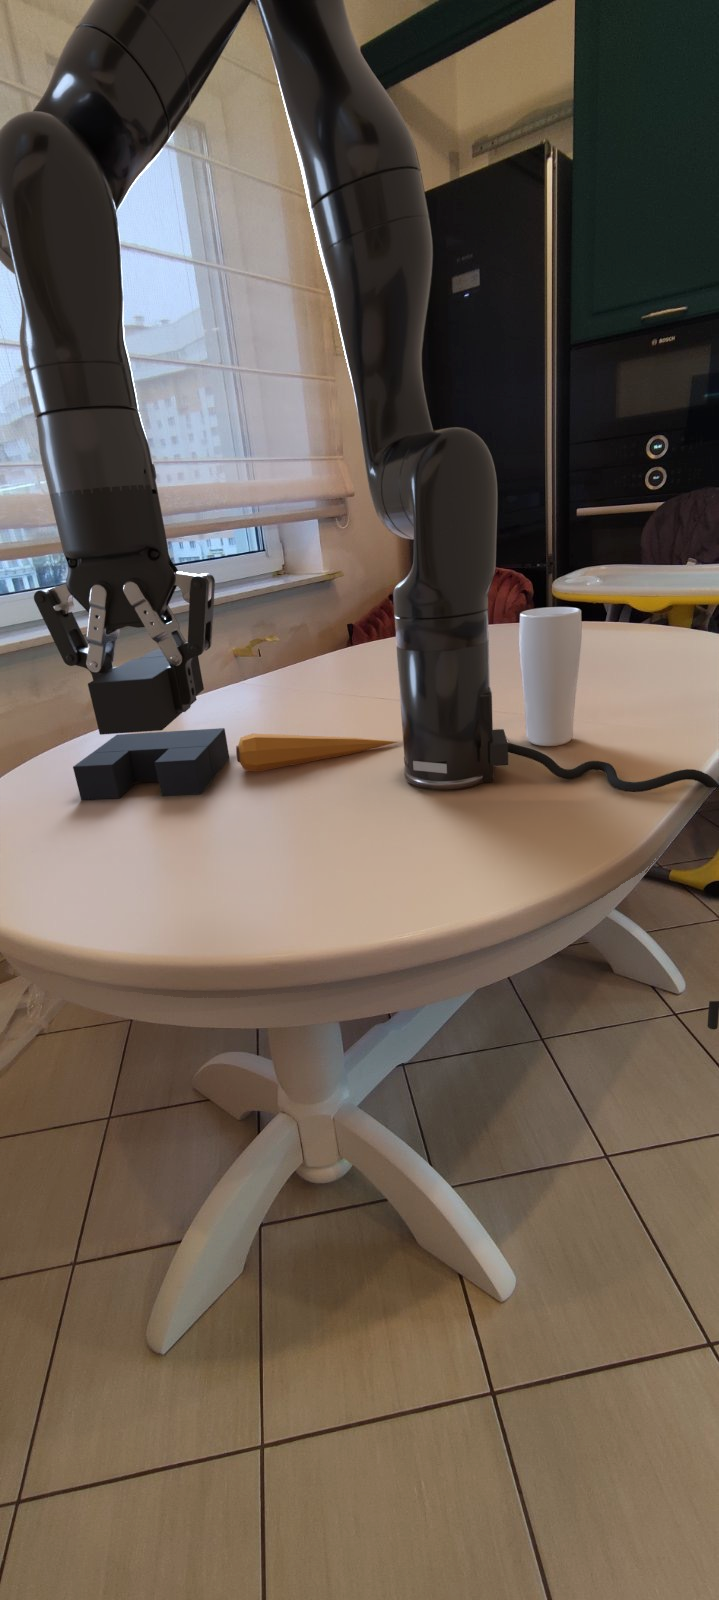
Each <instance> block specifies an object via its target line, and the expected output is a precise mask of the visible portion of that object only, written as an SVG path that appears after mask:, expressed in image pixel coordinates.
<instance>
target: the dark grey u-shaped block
mask: <svg viewBox="0 0 719 1600" xmlns="http://www.w3.org/2000/svg"><path fill="white" fill-rule="evenodd" d="M229 760H230V753H229V746H228V741H227V735H226V728H225V727H222V728H221V727H220V728H204V729H201V728H200V729H188V730H187V729H186V730H170V731H151V732H135V733H119V734H116V735H114V736H113V737H111V738H110V739H109V740H107V741H106V742H104V743H103V744H102V745H100V746H99V747H98V748H97V749H95V750H94V751H93V752H91V753H90V754H88V755H86V757H84V758H83V759H82V760H80V761H79V762H76V764H75V765H73V766H72V769H73V774H74V777H75V780H76V785H77V789H78V792H79V793H78V794H79V797H80V800H81V801H88V800H89V801H90V800H91V801H92V800H108V799H109V800H110V799H120V798H121V797H123V796H124V795H125V794H126V793H127V792H128V791H129V790H130V789H131V788H132V787H133V786H134V785H136V783H139V784H140V783H157V782H158V788H159V791H160V796H161V797H170V796H189V795H190V796H191V795H193V796H194V795H202V794H203V793H204V791H205V790H206V789H207V787H208V786H209V785H210V784H211V782H212V781H213V780H214V778H216V776H217V775H218V773H220V771H221V770H222V769H223V767H224V766H225V765H226V764H227V763H228V761H229Z"/></svg>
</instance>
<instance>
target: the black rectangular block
mask: <svg viewBox="0 0 719 1600" xmlns="http://www.w3.org/2000/svg"><path fill="white" fill-rule="evenodd" d="M169 666H170V664H169V663H168V661H167V659H166V657H165V656H164V654H163V652H162V650H161V649H160V648H157V649H156V648H155V649H153V650H151V651H150V652H148V653H146V654H144V655H142V656H140V657H138V658H132V659H130V660H128V661H126V662H124V663H123V664H121V665H119V666H116V667H117V668H115V669H113V670H112V671H110V672H108V673H106V674H104V675H103V676H101V677H99V678H97V679H95V680H93V679H92V681H90V682H88V683H87V687H88V692H89V697H90V700H91V704H92V708H93V712H94V716H95V721H96V726H97V729H98V733H99V735H103V736H104V735H115V734H116V735H118V734H133V733H147V732H162V731H163V730H164V729H166V728H167V727H168V726H169V725H170V724H171V723H173V721H174V720H176V719H177V718H178V717H179V716H180V715H181V714H182V713H183V712H178V713H177V712H176V710H175V707H174V701H173V696H172V691H171V686H170V681H169V676H168V671H167V669H166V668H167V667H169ZM191 669H192V674H193V680H194V685H195V691H196V697H195V700H194V701H193V702H192V703H191V706H192V705H193V704H194V703H195V702H196V701H197V696H198V695H200V693H202V692H203V691H204V690H205V687H204V681H203V677H202V670H201V664H200V659H199V656H195V657H193V658H192V660H191Z"/></svg>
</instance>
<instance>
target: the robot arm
mask: <svg viewBox="0 0 719 1600" xmlns="http://www.w3.org/2000/svg"><path fill="white" fill-rule="evenodd" d="M252 1H253V0H93V1H92V2H91V3H90V5H89V7H88V8H87V10H86V11H85V13H84V14H83V16H82V17H81V19H80V20H79V22H78V23H77V24H76V27H75V28H74V30H73V31H72V32H71V34H70V36H69V37H68V39H67V41H66V42H65V44H64V47H63V48H62V51H61V53H60V55H59V57H58V59H57V62H56V65H55V67H54V70H53V71H52V72H53V73H52V75H51V78H50V81H49V83H48V85H47V87H46V90H45V91H44V93H43V95H42V97H41V98H40V100H39V101H38V102H37V104H36V105H35V107H34V108H33V109H32V111H26V112H22V113H19V114H17V115H15V116H13V117H12V118H10V119H9V120H8V121H7V122H6V123H5V124H4V125H2V127H1V128H0V263H2V265H3V266H4V267H5V268H6V269H7V270H8V271H10V273H12V274H14V276H15V281H16V286H17V290H18V291H17V292H18V295H19V300H20V307H21V320H20V321H21V322H20V329H19V348H20V356H21V360H22V365H23V370H24V374H25V380H26V385H27V388H28V393H29V398H30V401H31V405H32V410H33V414H34V418H35V423H36V429H37V436H38V437H37V439H38V448H39V455H40V460H41V464H42V468H43V473H44V477H45V481H46V485H47V490H48V494H49V498H50V503H51V507H52V510H53V515H54V518H55V523H56V528H57V532H58V537H59V541H60V546H61V549H62V553H63V556H64V558H65V560H66V562H67V574H66V575H67V576H66V578H65V583H63V584H60V585H58V586H53V587H48V588H45V589H40V590H37V591H35V593H34V594H33V601H34V603H35V605H36V608H37V609H38V611H39V613H40V615H41V617H42V619H43V622H44V623H45V625H46V628H47V630H48V632H49V635H50V636H51V638H52V640H53V642H54V644H55V646H56V648H57V651H58V653H59V654H60V657H61V659H62V660H63V662H64V664H66V665H67V666H69V667H74V666H77V667H81V668H84V669H85V670H87V671H89V673H90V674H91V677H92V681H93V680H95V679H97V678H99V677H101V676H103V675H104V674H106V673H108V672H110V671H112V670H113V669H115V668H117V667H118V666H113V663H114V660H115V652H116V644H117V640H118V639H119V636H120V631H121V629H123V628H125V627H131V628H137V629H139V628H145V630H146V631H147V634H148V635H149V636H150V638H151V639H152V641H154V642H156V644H157V645H158V647H159V649H161V650H162V652H163V654H164V656H165V657H166V659H167V661H168V663H169V664H170V666H169V667H167V668H166V669H167V671H168V676H169V681H170V686H171V691H172V696H173V701H174V707H175V710H176V712H177V713H178V712H182V713H186V712H187V711H188V710H189V709H191V707H192V705H191V703H192V702H193V701H194V700H195V697H196V698H197V696H196V691H195V685H194V680H193V674H192V669H191V660H192V658H193V657H195V656H198V657H199V656H201V655H202V654H203V653H205V652H207V651H208V650H209V649H210V648H211V647H212V642H213V641H212V640H213V626H214V625H213V623H214V607H215V606H214V605H215V589H216V580H215V577H214V575H212V574H211V573H208V572H205V573H200V574H197V573H189V572H183V571H179V569H178V568H177V566H176V565H175V564H174V562H173V560H172V558H171V556H170V554H169V547H168V539H167V535H166V529H165V528H166V527H165V524H164V518H163V514H162V513H163V512H162V507H161V502H160V496H159V491H158V485H157V472H156V467H155V464H154V462H153V459H152V453H151V449H150V444H149V441H148V438H147V434H146V432H145V431H146V430H145V429H144V425H143V421H142V418H141V417H142V416H141V414H140V412H139V411H140V409H139V404H138V399H137V392H136V388H135V382H134V377H133V371H132V366H131V361H130V357H129V353H128V349H127V345H126V340H125V339H126V338H125V327H124V324H125V323H124V321H125V319H124V316H125V315H124V307H125V306H124V286H123V285H124V284H123V269H122V251H121V240H120V239H121V238H120V230H119V223H118V216H117V213H118V211H119V209H120V208H121V206H122V204H123V202H124V200H125V199H126V197H127V195H128V193H129V191H130V190H131V188H132V187H133V185H135V183H136V181H137V180H138V179H139V178H140V176H142V175H143V173H144V172H145V171H146V170H147V169H148V168H149V167H150V166H151V164H152V163H153V162H154V161H155V160H156V159H157V157H159V155H160V153H161V152H162V151H163V149H164V148H165V147H166V145H167V143H168V142H169V141H170V139H171V137H172V136H173V135H174V133H175V131H176V130H177V129H178V127H179V126H180V124H181V122H182V121H183V119H184V118H185V116H186V115H187V113H188V111H189V110H190V108H191V107H192V105H193V104H194V103H195V101H196V99H197V97H198V96H199V94H200V92H201V91H202V89H203V88H204V85H205V84H206V83H207V80H208V79H209V78H210V76H211V74H212V72H213V70H214V68H215V66H216V65H217V63H218V61H219V60H220V58H221V56H222V54H223V52H224V50H225V48H226V47H227V45H228V43H229V42H230V39H231V38H232V36H233V35H234V32H235V30H236V29H237V27H238V26H239V24H240V22H241V20H242V19H243V17H244V15H245V14H246V12H247V10H248V8H249V6H250V5H251V3H252ZM254 2H255V5H256V9H257V11H258V15H259V18H260V22H261V24H262V27H263V31H264V34H265V38H266V41H267V44H268V47H269V50H270V54H271V57H272V62H273V65H274V69H275V73H276V76H277V80H278V84H279V90H280V92H281V96H282V101H283V105H284V108H285V112H286V117H287V120H288V125H289V128H290V132H291V136H292V140H293V143H294V147H295V152H296V154H297V160H298V163H299V167H300V172H301V175H302V181H303V185H304V190H305V195H306V200H307V204H308V209H309V212H310V213H309V214H310V218H311V222H312V225H313V229H314V233H315V237H316V241H317V242H316V243H317V246H318V247H317V248H318V250H319V255H320V259H321V263H322V266H323V269H324V273H325V276H326V280H327V283H328V287H329V291H330V295H331V298H332V303H333V307H334V312H335V316H336V320H337V324H338V329H339V335H340V338H341V342H342V347H343V351H344V356H345V359H346V360H345V361H346V363H347V368H348V372H349V376H350V380H351V384H352V389H353V394H354V400H355V405H356V412H357V418H358V425H359V426H358V427H359V432H360V439H361V446H362V453H363V459H364V465H365V473H366V479H367V484H368V490H369V494H370V498H371V502H372V505H373V508H374V510H375V514H376V516H377V517H378V518H379V520H380V522H381V524H382V525H383V526H384V527H385V528H386V530H388V531H389V532H390V533H391V534H392V535H395V536H396V537H399V538H402V539H406V540H413V561H412V562H413V563H412V566H411V569H410V571H409V573H408V574H407V576H406V577H405V578H404V579H403V580H401V581H400V582H398V583H397V585H395V586H394V589H393V592H392V593H393V594H392V601H393V614H394V629H395V630H394V632H395V644H396V645H395V646H396V656H397V657H396V659H397V661H396V662H397V672H398V674H397V675H398V687H399V689H398V690H399V701H400V715H401V716H400V717H401V729H402V745H403V762H404V768H403V771H404V779H405V780H406V782H408V783H409V784H411V785H413V786H416V787H419V788H424V789H429V790H458V789H463V788H470V787H473V786H476V785H480V784H482V783H493V782H494V781H495V773H494V772H495V769H494V767H505V766H509V754H512V755H515V756H520V757H522V758H523V757H524V758H527V759H530V760H533V761H536V762H537V763H539V764H541V765H543V766H544V767H546V769H547V770H548V771H549V772H551V773H552V774H553V775H554V776H555V777H558V778H559V779H564V780H573V779H576V778H579V777H580V776H583V775H584V774H586V773H587V772H589V771H600V772H603V773H605V776H606V780H607V782H608V783H609V785H610V787H612V788H613V789H615V790H618V791H622V792H626V793H642V792H647V791H653V790H656V789H658V788H659V789H660V788H661V787H664V786H667V785H671V784H673V783H676V782H681V781H695V782H699V783H700V784H702V785H704V786H705V787H707V788H710V789H711V788H713V789H717V788H719V782H717V780H715V778H713V777H712V776H710V775H709V774H707V773H706V772H704V771H702V770H697V769H693V768H691V769H690V768H685V769H680V770H675V771H672V772H668V773H666V774H663V775H660V776H657V777H654V778H651V779H646V780H642V781H626V780H623V779H621V778H619V777H618V774H617V773H618V772H617V771H616V768H615V767H614V766H613V764H611V763H610V762H606V761H602V760H589V761H585V762H583V763H581V764H579V765H577V766H575V767H574V768H571V769H570V768H564V767H562V766H560V765H559V764H558V763H557V762H556V761H555V760H554V759H553V758H552V757H550V756H548V755H547V754H545V753H543V752H541V751H538V750H536V749H533V748H531V747H530V748H529V747H526V746H522V745H519V744H515V743H511V742H508V739H507V736H506V733H505V729H503V728H501V729H499V728H498V729H493V728H494V727H493V725H494V724H493V693H492V689H491V681H490V680H491V679H490V678H491V677H490V675H491V674H490V640H489V638H490V637H489V634H490V633H489V591H490V588H491V586H492V583H493V580H494V576H495V572H496V565H497V536H498V535H497V534H498V533H497V532H498V501H499V500H498V499H499V498H498V497H499V496H498V494H499V493H498V479H497V472H496V467H495V463H494V459H493V456H492V454H491V450H490V449H489V447H488V445H487V444H486V443H485V441H484V439H483V438H482V437H481V436H480V435H479V434H477V433H476V432H475V431H473V430H471V429H469V428H466V427H460V426H459V427H458V426H452V427H443V428H439V429H434V428H433V424H432V420H431V416H430V415H431V414H430V410H429V405H428V401H427V400H428V399H427V394H426V389H425V383H424V382H425V381H424V375H423V373H424V372H423V348H424V341H425V339H424V338H425V330H426V325H427V324H426V323H427V315H428V310H429V302H430V297H431V296H430V295H431V290H432V289H431V287H432V280H433V268H434V241H433V233H432V226H431V219H430V213H429V208H428V202H427V197H426V191H425V185H424V180H423V175H422V172H421V166H420V161H419V160H420V159H419V156H418V152H417V148H416V145H415V141H414V138H413V137H412V133H411V131H410V129H409V127H408V126H407V124H406V121H405V119H404V118H403V115H402V114H401V112H400V111H399V109H398V107H397V106H396V104H395V102H394V101H393V99H392V98H391V96H390V95H389V94H388V91H387V90H386V89H385V88H384V86H383V85H382V83H381V82H380V80H379V79H378V78H377V76H376V74H375V73H374V71H372V69H371V67H370V65H369V64H368V62H367V61H366V59H365V58H364V56H363V55H362V52H361V50H360V48H359V46H358V44H357V42H356V39H355V36H354V33H353V29H352V28H351V24H350V21H349V17H348V13H347V8H346V4H345V0H254ZM177 587H178V588H179V589H180V591H181V596H182V599H183V600H184V601H185V602H186V603H188V605H189V606H188V626H187V628H188V629H187V641H186V639H185V637H184V635H183V634H182V631H181V629H180V628H181V627H180V623H179V622H178V620H177V618H176V616H175V615H174V613H173V611H172V609H171V608H170V606H169V604H170V602H171V599H172V597H173V596H174V594H175V591H176V589H177ZM74 600H75V601H77V602H78V604H79V605H81V607H83V609H84V610H85V611H86V612H87V613H88V622H87V630H86V639H85V636H84V634H83V632H82V630H81V628H80V626H79V624H78V621H77V619H76V617H75V615H74V613H73V612H74V609H75V603H74ZM718 1024H719V1000H709V1001H708V1013H707V1025H706V1026H707V1028H708V1029H709V1030H718V1026H719V1025H718Z"/></svg>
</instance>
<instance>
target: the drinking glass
mask: <svg viewBox="0 0 719 1600" xmlns="http://www.w3.org/2000/svg"><path fill="white" fill-rule="evenodd" d="M518 624H519V625H518V627H519V628H518V650H519V662H520V673H521V683H522V695H523V707H524V717H525V718H524V719H525V739H526V740H527V741H528V742H529V743H530V744H533V745H535V746H540V747H555V746H556V747H557V746H562V745H565V744H568V743H569V742H570V741H571V740H572V739H573V735H574V718H575V717H574V716H575V708H576V707H575V706H576V699H577V690H578V680H579V671H580V663H581V653H582V640H583V636H582V635H583V631H582V630H583V628H582V627H583V621H582V609H580V608H578V607H572V606H552V607H551V606H550V607H549V606H548V607H547V606H546V607H536V608H530V609H527V610H523V611H521V612H520V613H519V623H518Z"/></svg>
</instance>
